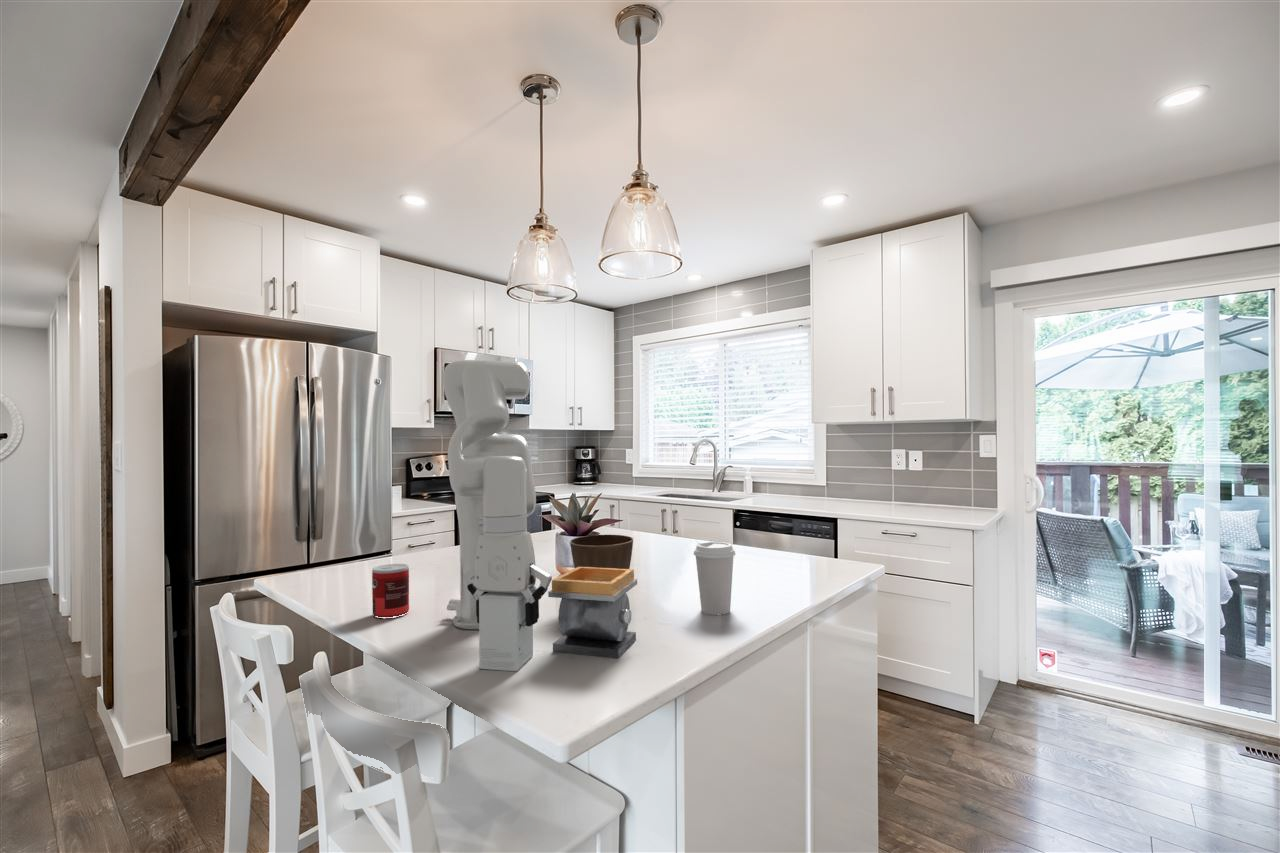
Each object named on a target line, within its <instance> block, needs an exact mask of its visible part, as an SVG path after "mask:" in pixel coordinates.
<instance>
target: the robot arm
mask: <svg viewBox="0 0 1280 853" xmlns="http://www.w3.org/2000/svg"><path fill="white" fill-rule="evenodd" d="M443 370H444V371H443V374H442V375H443V376H442V378H443V379H442V380H443V381H442V382H443V388H444V389H443V390H444V394H445V395H444V396H445V398H446V401H447V404H448V406H449V408H450V411H451V413H452V415H453V418H454V420H455V424H456V429H455V431H454V432H453V433H452V436H451V438H450V439H449V444H448V447H447V464H448V475H449V482H450V483H449V484H450V487H451V490H452V491H453V493H454V502H455V503H454V504H455V507H456V514H457V520H458V531H459V571H460V572H459V581H460V582H459V583H460V585H459V586H460V587H459V588H460V591H459V592H460V593H459V594H460V599H457V598H456V599H454V598H452V599H450V600H448V604H447V605H446V610H447V611H455V613H456V614H455V615H454V617H453V620H452V622H453V623H452V624H453V626H455V627H457V628H459V629H463V630H479V597H480V596H482V595H484V594H486V593H487V592H506V593H518V592H522V593H523V595H524V596H525V597H526V599H527V600H528V603H526V604H525V619H526V626H529V627H530V626H532V625H533V626H534V625H535V624H537V623H538V620H539V618H540V605H539V604H540V603H539V602H540V600H541V599H542V598H543V596H544V595H545V593H547V591H548V588H549V586H550V584H551V583H552V580H553V577H552V575H551V574H549V573H548V572H546V571H544V570H543V569H542V568H540V567H538V566H536V557H535V549H534V543H533V539H532V535H531V532H530V531H528V522H527V521H528V520H527V517H529V516H531V515H532V514H533V513H534V511H535V509H536V505H537V494H536V493H537V492H536V488H535V487H536V486H535V479H534V473H533V467H532V466H533V464H532V458H531V457H532V456H531V452H530V446H529V443H528V442H527V440H526V438H525V437H524V436H522V435H520V434H515V433H499V432H501V431H502V430H503V429H505V427H506V426H507V425H508V424H509V420H510V413H509V406H508V403H507V400H524V399H526V398H527V397H528V396H529V394H530V390H531V378H530V374H529V373H530V372H529V369H528V368H527V366H526V365H525V364H524V363H523V362H521V361H512V360H511V361H510V360H509V361H508V360H487V359H486V360H477V359H475V360H474V359H462V360H455V361H452V362H450V363H448V364H447V365H446V366H445V368H444V369H443ZM537 580H539V582H540V583H539V585H538V587H536V581H537Z"/></svg>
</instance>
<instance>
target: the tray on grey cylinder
mask: <svg viewBox="0 0 1280 853" xmlns="http://www.w3.org/2000/svg"><path fill="white" fill-rule="evenodd" d="M637 585H638V578H635V569H631V568H629V569H616V568H596V567H577V568H575V567H574V568H572V569H570V570H569V571H568V572H567V571H566V572H565V573H563V574H562V575H559V576H557V577H555V578H552V580H551V589H550V590H549V591H548V590H547V591H548V592H547V594H548V596H547V597H548V598H558V599H560V604H559V608H558V628H559V630H560V633H561V634H562V636H561V637H560V638H558V639H557V640H556V641H554V642H553V643H552V652H553V653H563V654H573V655H584V656H593V657H603V658H610V659H611V658H612V659H619V658H620V657H621V656H622V655H624V653H625V652H626V651H627V650H628V649H629V648H630V647H631V646H632V645H633V644H634V643H635V642H636V640H637V631H636V632H635V631H628V628H629V624H631V621H632V611H631V609H630V600H629V596H628V594H627V593H628V592H629V591H630V590H632V589H633V588H634V587H636V586H637Z"/></svg>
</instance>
